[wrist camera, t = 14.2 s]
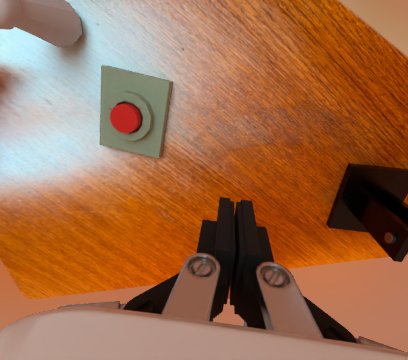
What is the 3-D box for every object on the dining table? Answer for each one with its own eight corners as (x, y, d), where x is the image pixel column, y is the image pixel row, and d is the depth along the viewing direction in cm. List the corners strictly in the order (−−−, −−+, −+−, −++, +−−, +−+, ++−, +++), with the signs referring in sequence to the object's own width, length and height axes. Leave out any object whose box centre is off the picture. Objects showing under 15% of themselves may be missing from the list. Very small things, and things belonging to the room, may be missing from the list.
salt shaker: (87, 54, 35) (13, 44, 23) (49, 42, 34) (-44, 26, 23) (89, 7, 32) (8, -30, 20) (49, -6, 32) (-56, -51, 20)
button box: (108, 65, 35) (94, 65, 31) (172, 81, 35) (166, 82, 31) (106, 141, 40) (93, 148, 36) (162, 154, 40) (155, 162, 36)
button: (116, 100, 33) (110, 101, 32) (142, 106, 33) (138, 108, 32) (114, 127, 35) (109, 129, 34) (140, 133, 35) (136, 136, 34)
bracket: (348, 163, 37) (401, 203, 26) (412, 169, 37) (496, 213, 25) (326, 223, 43) (362, 280, 31) (382, 230, 42) (440, 290, 30)
